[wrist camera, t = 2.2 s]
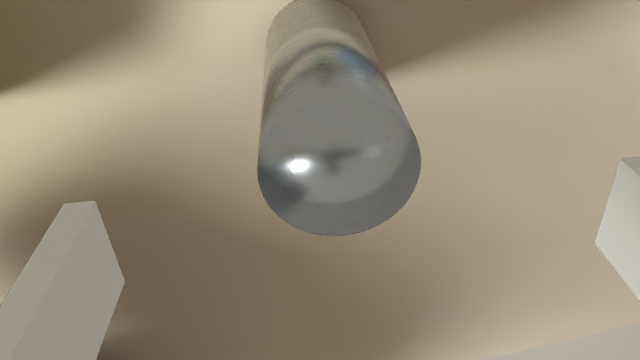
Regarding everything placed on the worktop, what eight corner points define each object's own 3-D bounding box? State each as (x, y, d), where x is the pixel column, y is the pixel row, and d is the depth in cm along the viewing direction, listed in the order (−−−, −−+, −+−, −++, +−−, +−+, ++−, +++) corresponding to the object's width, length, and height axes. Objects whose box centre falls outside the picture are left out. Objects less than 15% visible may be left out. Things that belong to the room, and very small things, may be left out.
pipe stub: (272, 96, 27) (267, 242, 17) (260, -1, 24) (246, 103, 14) (366, 89, 27) (417, 228, 17) (365, -9, 25) (424, 88, 14)
